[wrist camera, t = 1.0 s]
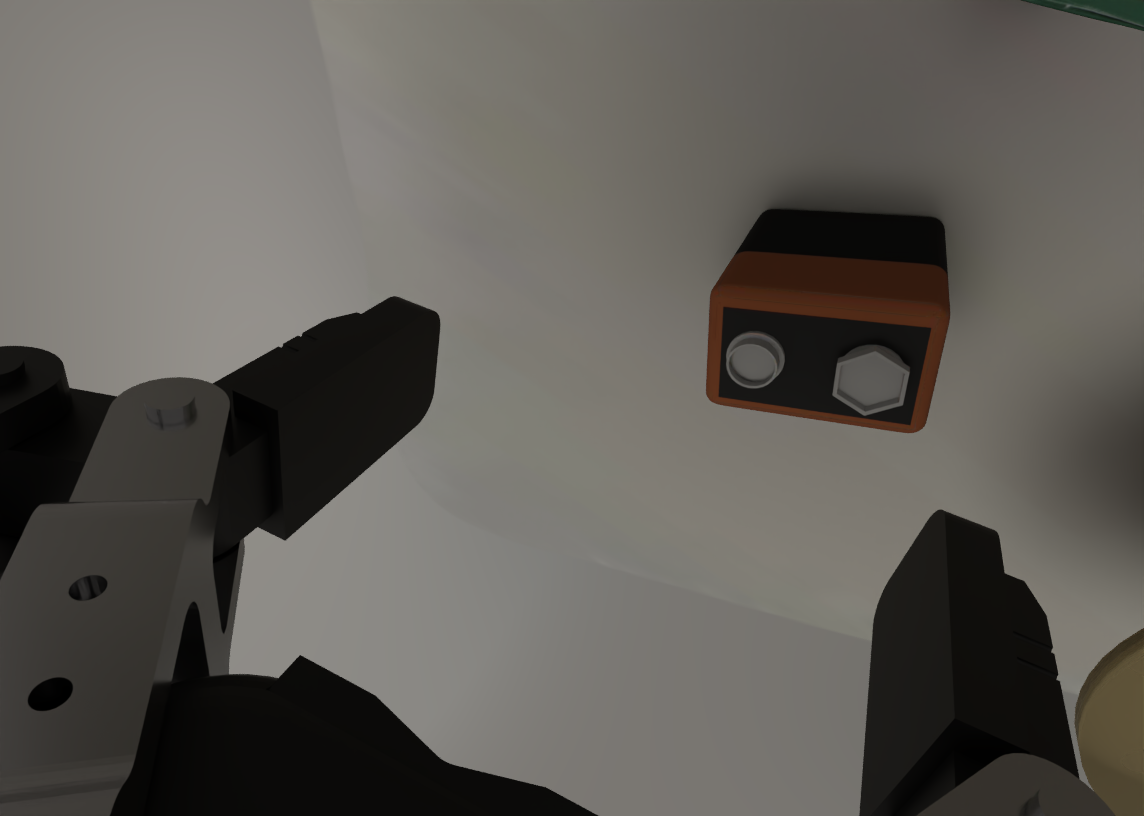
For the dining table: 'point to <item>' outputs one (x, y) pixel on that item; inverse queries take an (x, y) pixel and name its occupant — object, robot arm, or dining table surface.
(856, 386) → the battery
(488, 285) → the dining table surface
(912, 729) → the robot arm
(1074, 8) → the coffee box
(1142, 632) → the balance
